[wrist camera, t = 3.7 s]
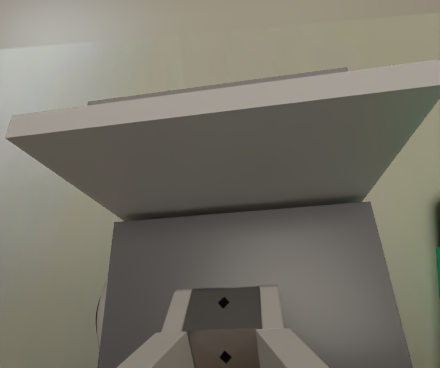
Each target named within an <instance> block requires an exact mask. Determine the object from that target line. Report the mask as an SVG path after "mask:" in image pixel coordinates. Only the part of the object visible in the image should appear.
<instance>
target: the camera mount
mask: <svg viewBox="0 0 440 368" xmlns="http://www.w3.org/2000/svg"><path fill="white" fill-rule="evenodd" d="M436 253H437V267H438V282H439V296H440V248H437V249H436Z"/></svg>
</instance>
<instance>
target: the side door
mask: <svg viewBox="0 0 440 368" xmlns="http://www.w3.org/2000/svg"><path fill="white" fill-rule="evenodd" d="M439 99H440V59H438V60H431V61H423V62H415V63H408V64H400V65H393V66H385V67H377V68H370V69H362V70H355V71H348V69H347V67H346V68H338V69H331V70H323V71H315V72H308V73H300V74H293V75H285V76H278V77H270V78H263V79H255V80H248V81H240V82H233V83H225V84H218V85H210V86H203V87H195V88H188V89H180V90H173V91H165V92H158V93H150V94H143V95H135V96H128V97H120V98H113V99H105V100H98V101H90V102H88V105H87V106H81V107H73V108H66V109H58V110H51V111H43V112H35V113H28V114H20V115H13V116H12V117H11V121H10V124H9V127H8V130H7V134H6V137H5V138H6V139H7V140H9V141H10V142H12V143H13V144H15V145H16V146H17V147H19V148H20V149H22V150H23V151H25V152H26V153H27V154H29V155H30V156H32V157H33V158H35V159H36V160H38V161H39V162H40V163H42V164H43V165H45V166H46V167H48V168H49V169H50V170H52V171H53V172H55V173H56V174H58V175H59V176H61V177H62V178H63V179H65V180H66V181H68V182H69V183H71V184H72V185H74V186H75V187H76V188H78V189H79V190H81V191H82V192H84V193H85V194H86V195H88V196H89V197H91V198H92V199H94V200H95V201H97V202H98V203H99V204H101V205H102V206H104V207H105V208H107V209H108V210H109V211H111V212H112V213H114V214H115V215H117V216H118V217H120V218H121V219H122V220H124V221H136V220H149V219H161V218H173V217H186V216H198V215H211V214H223V213H235V212H248V211H260V210H272V209H285V208H297V207H309V206H322V205H334V204H347V203H359V202H362V201H363V199H364V198H365V197H366V195H367V194H368V193H369V191H370V190H371V189H372V188H373V186H374V185H375V184H376V182H377V181H378V180H379V178H380V177H381V176H382V174H383V173H384V172H385V170H386V169H387V168H388V166H389V165H390V164H391V162H392V161H393V160H394V158H395V157H396V156H397V154H398V153H399V152H400V150H401V149H402V148H403V146H404V145H405V144H406V142H407V141H408V140H409V138H410V137H411V136H412V134H413V133H414V132H415V130H416V129H417V128H418V126H419V125H420V124H421V122H422V121H423V120H424V118H425V117H426V116H427V115H428V113H429V112H430V111H431V109H432V108H433V107H434V105H435V104H436V103H437V101H438V100H439Z"/></svg>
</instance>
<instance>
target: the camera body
mask: <svg viewBox="0 0 440 368" xmlns="http://www.w3.org/2000/svg"><path fill="white" fill-rule="evenodd" d="M272 284H277V285H278V289H279V296H280V303H281V310H282V317H283V324H284V328H290V329H291V330H292V331H293V332H294V333H295V334H296V335H297V336H298V337H299V338H300V339H301V340H302V341H303V342H304V343H305V344H306V345H307V346H308V347H309V348H310V349H311V350H312V351H313V352H314V353H315V354H316V355H317V356H318V357H319V358H320V359H321V360H322V361H323V362H324V363H325V364H326V365H327V366H328V367H329V368H413V367H412V363H411V359H410V355H409V352H408V348H407V344H406V340H405V336H404V332H403V328H402V324H401V320H400V316H399V312H398V308H397V304H396V301H395V297H394V293H393V289H392V285H391V281H390V277H389V273H388V269H387V265H386V261H385V257H384V254H383V250H382V246H381V242H380V238H379V234H378V230H377V226H376V222H375V218H374V214H373V210H372V206H371V203H370V202H359V203H347V204H334V205H322V206H309V207H297V208H285V209H272V210H260V211H248V212H235V213H223V214H211V215H198V216H186V217H173V218H161V219H149V220H136V221H124V222H114V230H113V239H112V247H111V256H110V264H109V273H108V279H107V281H106V283H105V285H104V288H103V291H102V294H101V297H100V299H99V303H98V307H97V312H96V331H97V338H98V344H99V348H100V351H99V359H98V368H117V367H118V366H119V365H120V364H121V363H122V362H123V361H125V360H126V359H127V358H128V357H129V356H130V355H131V354H132V353H134V352H135V351H136V350H137V349H138V348H139V347H140V346H141V345H143V344H144V343H145V342H146V341H147V340H148V339H149V338H150V337H152V336H153V335H154V334H155V333H158V332H161V331H162V328H163V325H164V322H165V319H166V316H167V313H168V310H169V307H170V303H171V300H172V297H173V294H174V292H175V291H176V290H177V289H195V288H231V287H249V286H260V285H272Z"/></svg>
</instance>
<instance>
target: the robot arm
mask: <svg viewBox="0 0 440 368" xmlns="http://www.w3.org/2000/svg"><path fill="white" fill-rule="evenodd" d="M117 368H329V367H328V366H327V365H326V364H325V363H324V362H323V361H322V360H321V359H320V358H319V357H318V356H317V355H316V354H315V353H314V352H313V351H312V350H311V349H310V348H309V347H308V346H307V345H306V344H305V343H304V342H303V341H302V340H301V339H300V338H299V337H298V336H297V335H296V334H295V333H294V332H293V331H292V330H291V329H290V328H284V324H283V317H282V310H281V303H280V296H279V289H278V285H277V284H272V285H260V286H249V287H231V288H195V289H177V290H176V291H175V292H174V294H173V297H172V300H171V303H170V307H169V310H168V313H167V316H166V319H165V322H164V325H163V328H162V331H161V332H158V333H155V334H154V335H153V336H152V337H150V338H149V339H148V340H147V341H146V342H145V343H144V344H143V345H141V346H140V347H139V348H138V349H137V350H136V351H135V352H134V353H132V354H131V355H130V356H129V357H128V358H127V359H126V360H125V361H123V362H122V363H121V364H120V365H119V366H118V367H117Z"/></svg>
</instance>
